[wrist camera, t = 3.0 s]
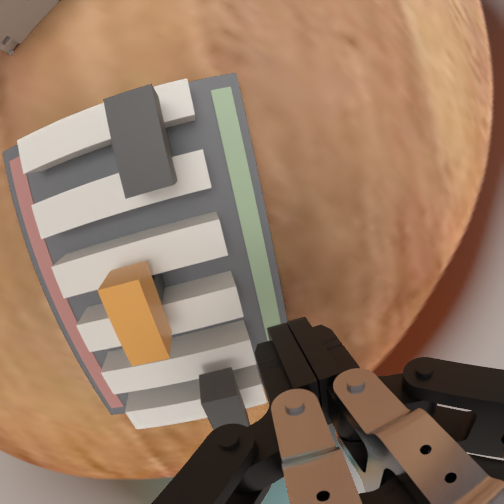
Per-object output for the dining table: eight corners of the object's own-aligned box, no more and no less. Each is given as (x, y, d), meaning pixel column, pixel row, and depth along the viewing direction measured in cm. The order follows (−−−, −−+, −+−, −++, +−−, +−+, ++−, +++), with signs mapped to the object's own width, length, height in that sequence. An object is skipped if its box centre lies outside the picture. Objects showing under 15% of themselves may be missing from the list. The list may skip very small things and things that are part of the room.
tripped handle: (145, 311, 23) (131, 366, 16) (123, 251, 21) (97, 290, 15) (174, 304, 23) (170, 358, 16) (154, 242, 21) (138, 279, 15)
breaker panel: (115, 395, 28) (100, 470, 19) (20, 151, 20) (-55, 156, 10) (288, 356, 30) (323, 428, 21) (231, 82, 22) (255, 35, 12)
